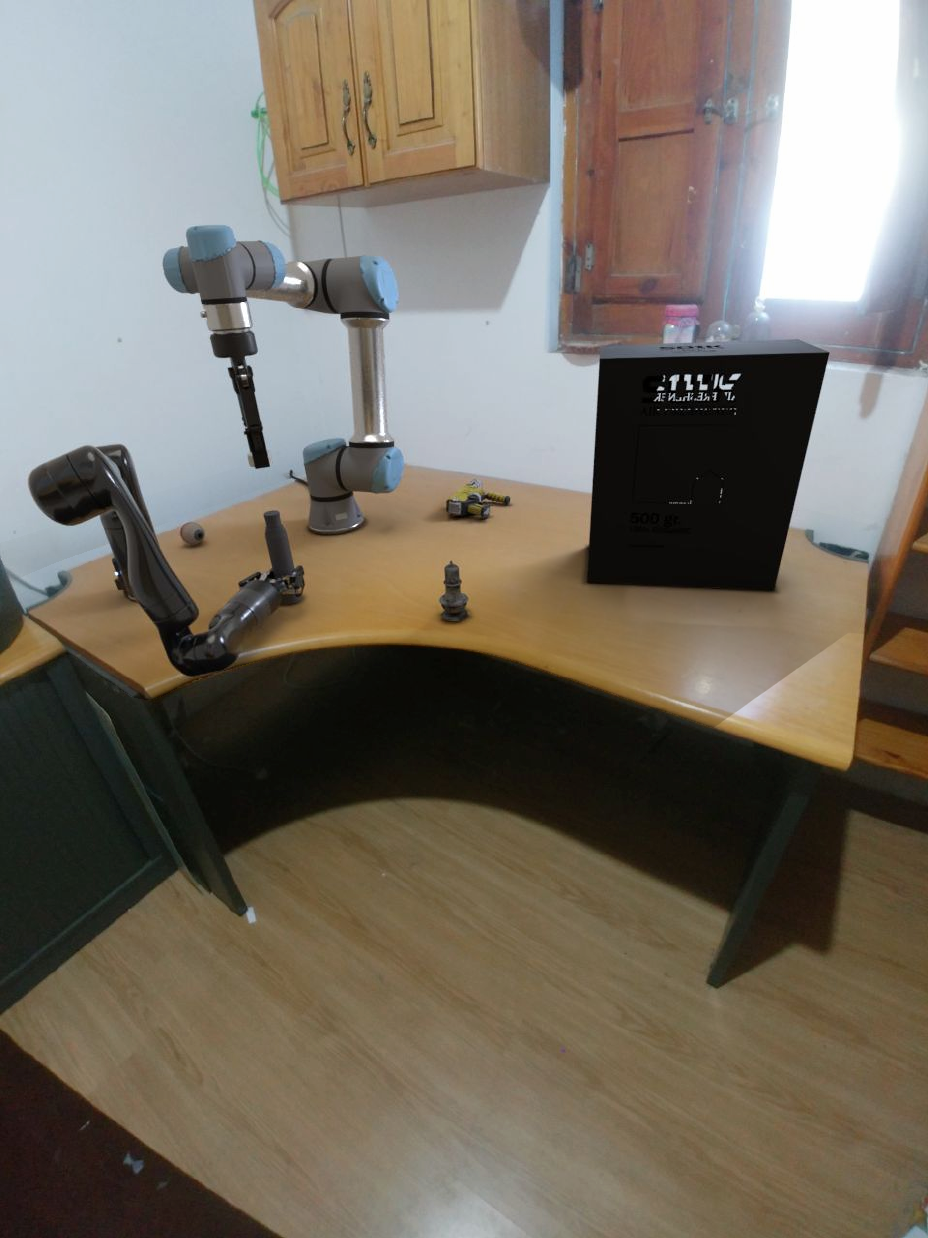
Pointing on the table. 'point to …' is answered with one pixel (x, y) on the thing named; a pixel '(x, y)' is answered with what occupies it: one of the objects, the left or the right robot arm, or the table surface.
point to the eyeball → (192, 533)
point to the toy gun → (473, 500)
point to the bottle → (279, 550)
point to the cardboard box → (699, 461)
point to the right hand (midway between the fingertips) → (261, 464)
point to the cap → (251, 462)
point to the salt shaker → (453, 595)
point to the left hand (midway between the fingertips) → (290, 568)
